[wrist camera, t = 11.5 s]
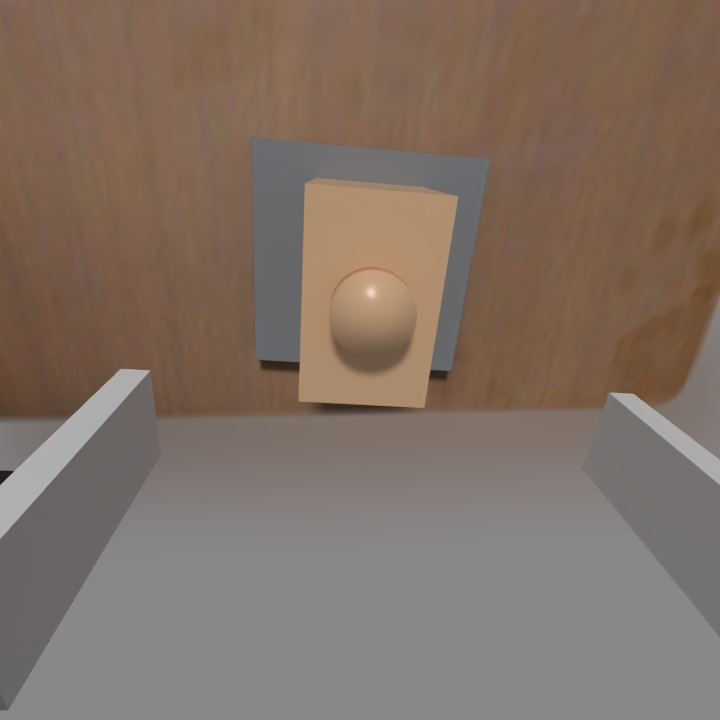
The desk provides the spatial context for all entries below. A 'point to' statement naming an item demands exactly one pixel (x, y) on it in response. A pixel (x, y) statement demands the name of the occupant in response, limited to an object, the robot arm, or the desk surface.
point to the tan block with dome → (371, 290)
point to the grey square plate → (286, 225)
